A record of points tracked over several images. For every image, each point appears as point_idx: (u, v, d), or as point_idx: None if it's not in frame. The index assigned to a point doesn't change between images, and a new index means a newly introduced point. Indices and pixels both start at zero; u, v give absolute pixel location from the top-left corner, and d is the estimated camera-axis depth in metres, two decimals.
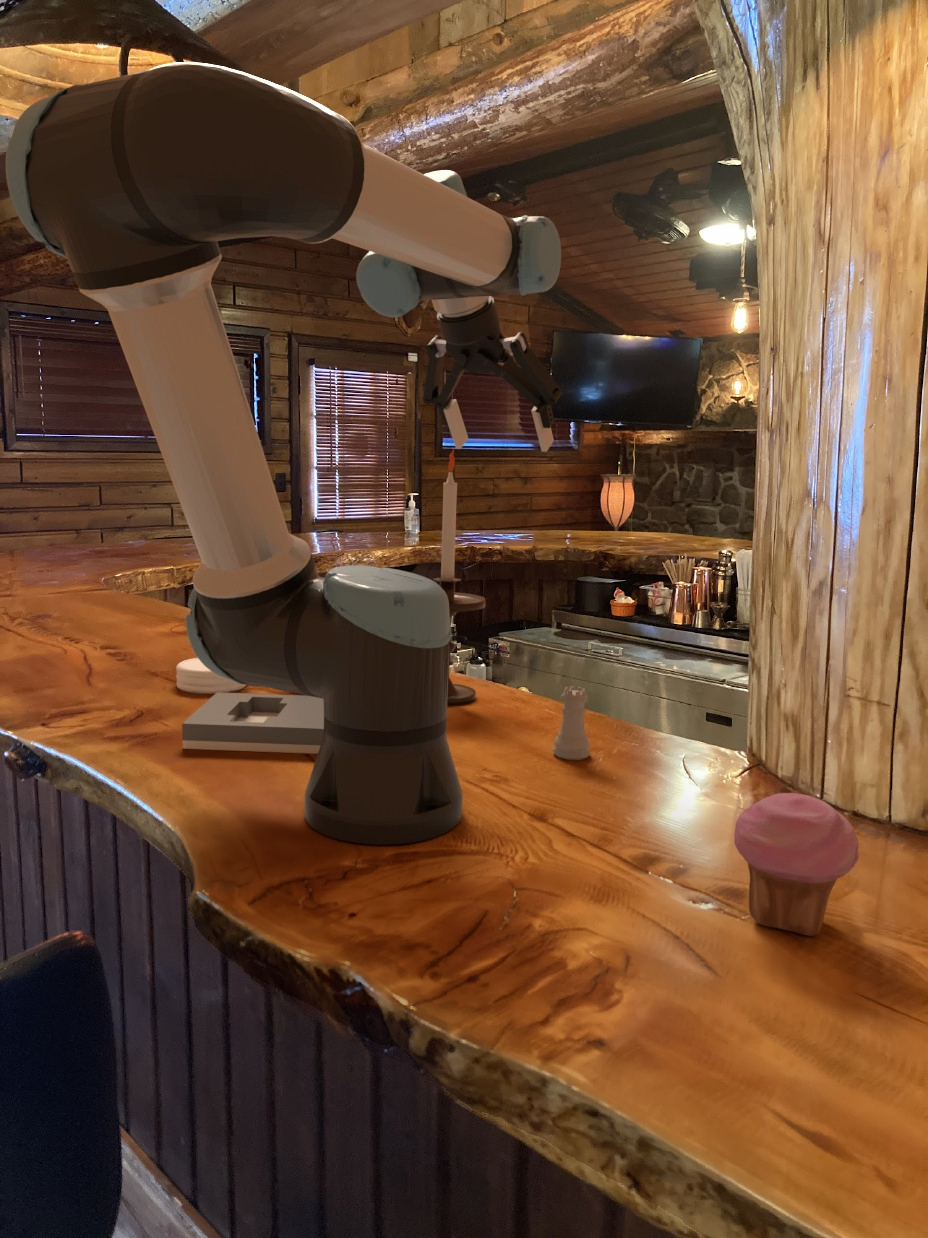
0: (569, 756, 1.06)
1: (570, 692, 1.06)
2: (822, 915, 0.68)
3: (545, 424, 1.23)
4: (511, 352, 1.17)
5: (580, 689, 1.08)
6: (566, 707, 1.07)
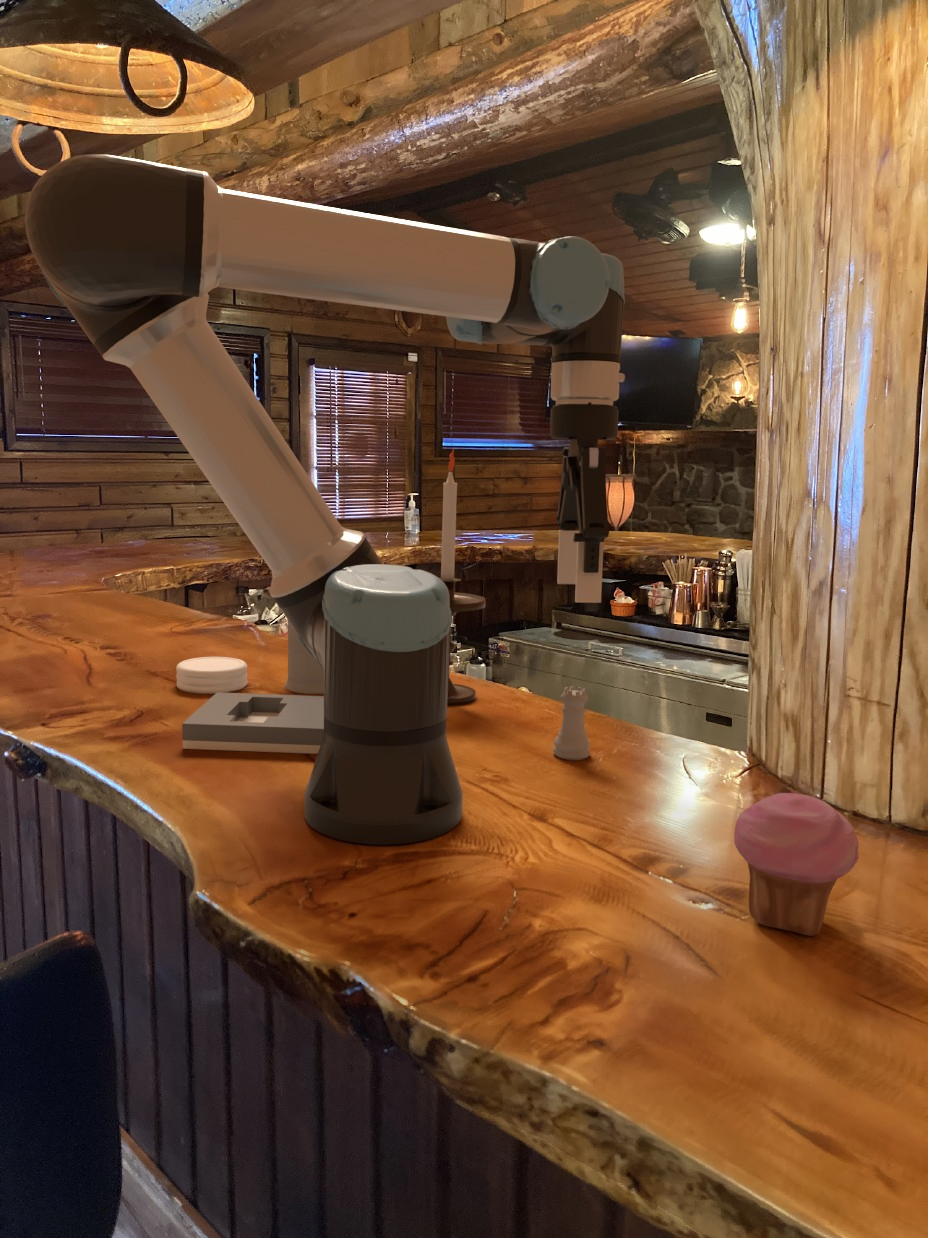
0: (569, 756, 1.06)
1: (570, 692, 1.06)
2: (822, 915, 0.68)
3: (584, 567, 0.98)
4: (580, 461, 0.98)
5: (580, 689, 1.08)
6: (566, 707, 1.07)
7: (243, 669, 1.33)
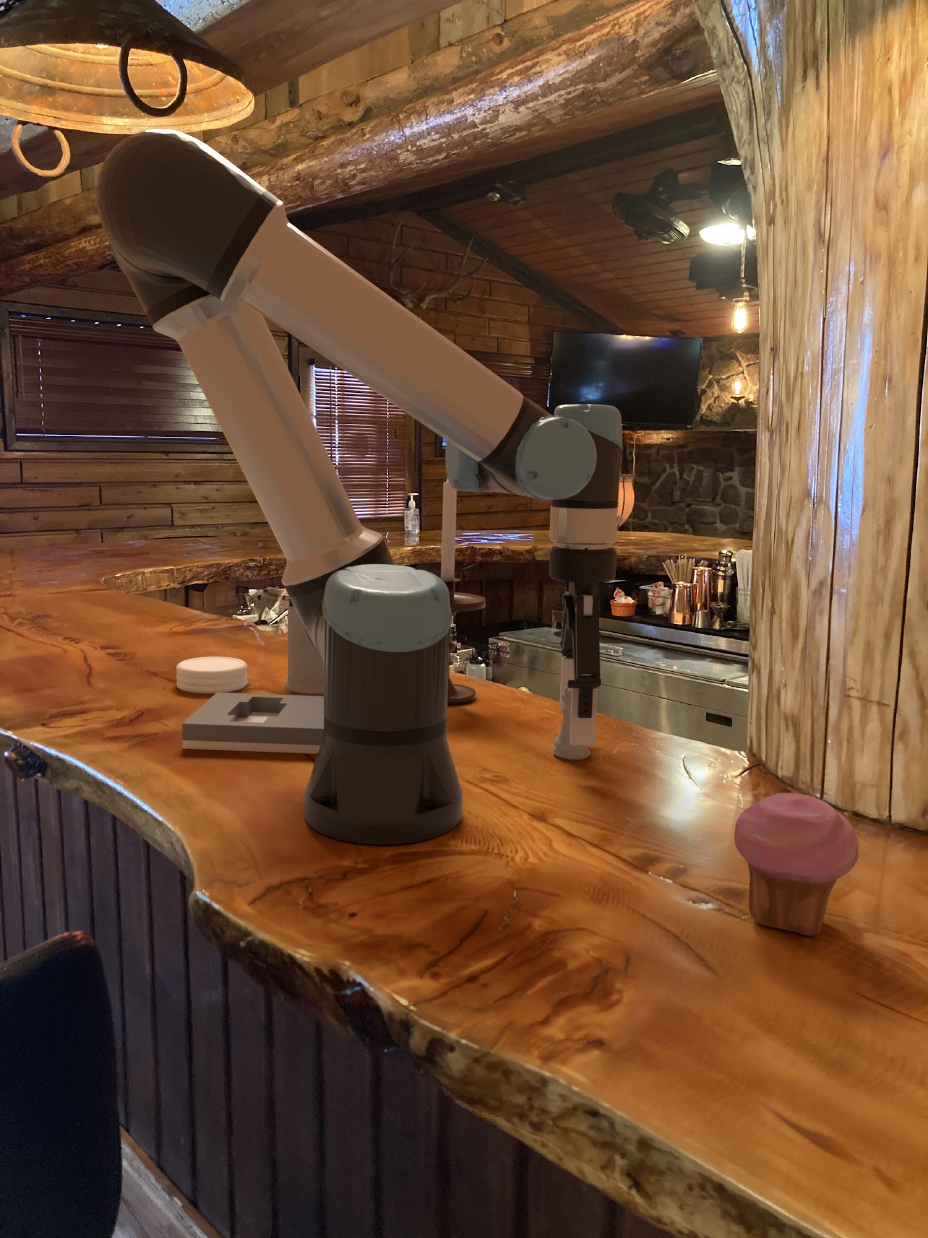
0: (569, 756, 1.06)
1: (570, 692, 1.06)
2: (822, 915, 0.68)
3: (578, 712, 1.00)
4: (575, 608, 1.00)
5: None
6: (566, 707, 1.07)
7: (243, 669, 1.33)
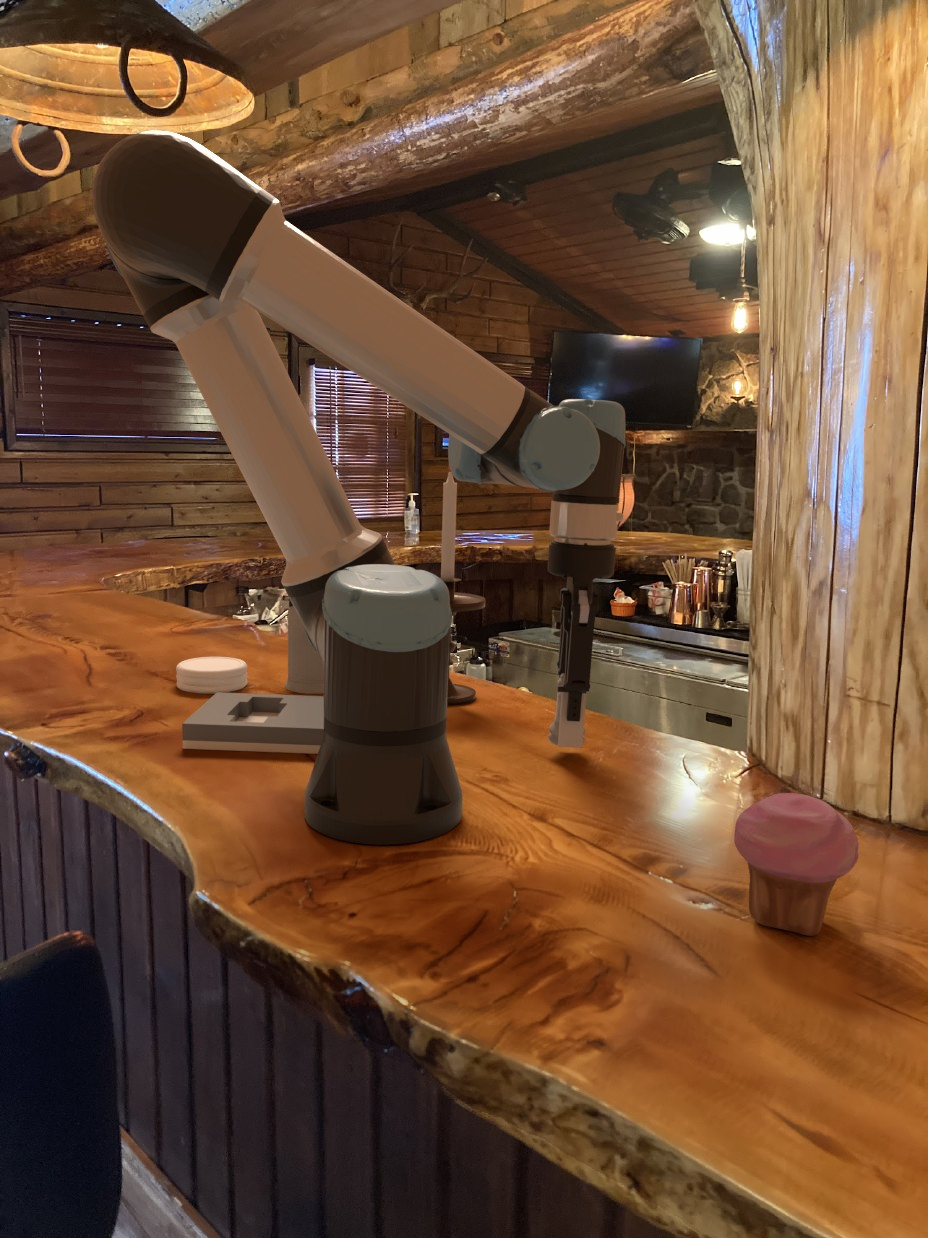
0: None
1: None
2: (822, 915, 0.68)
3: (567, 715, 1.04)
4: (572, 612, 1.00)
5: None
6: None
7: (243, 669, 1.33)
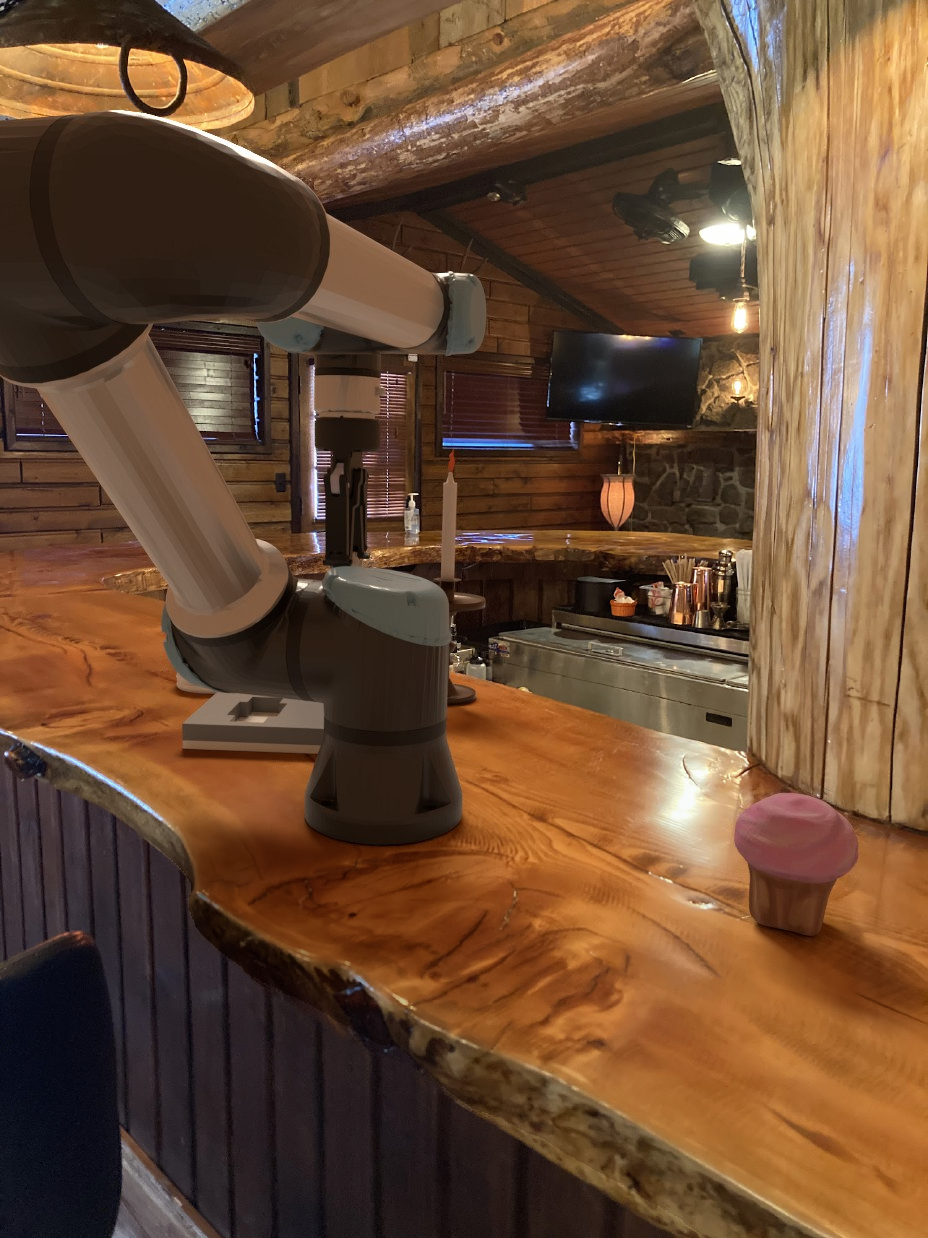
0: None
1: None
2: (822, 915, 0.68)
3: None
4: None
5: (353, 553, 1.09)
6: None
7: None
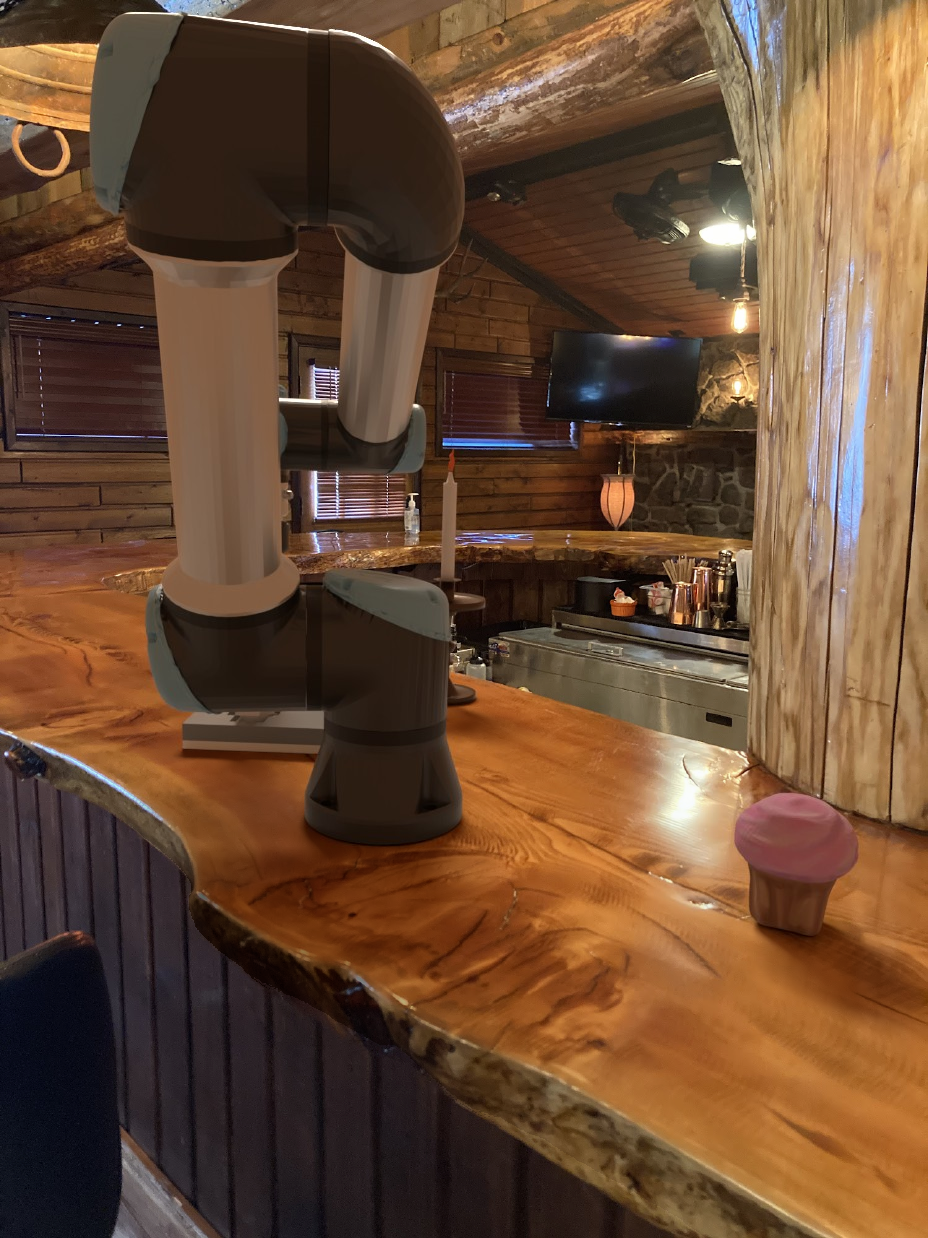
0: None
1: None
2: (822, 915, 0.68)
3: None
4: None
5: None
6: None
7: None
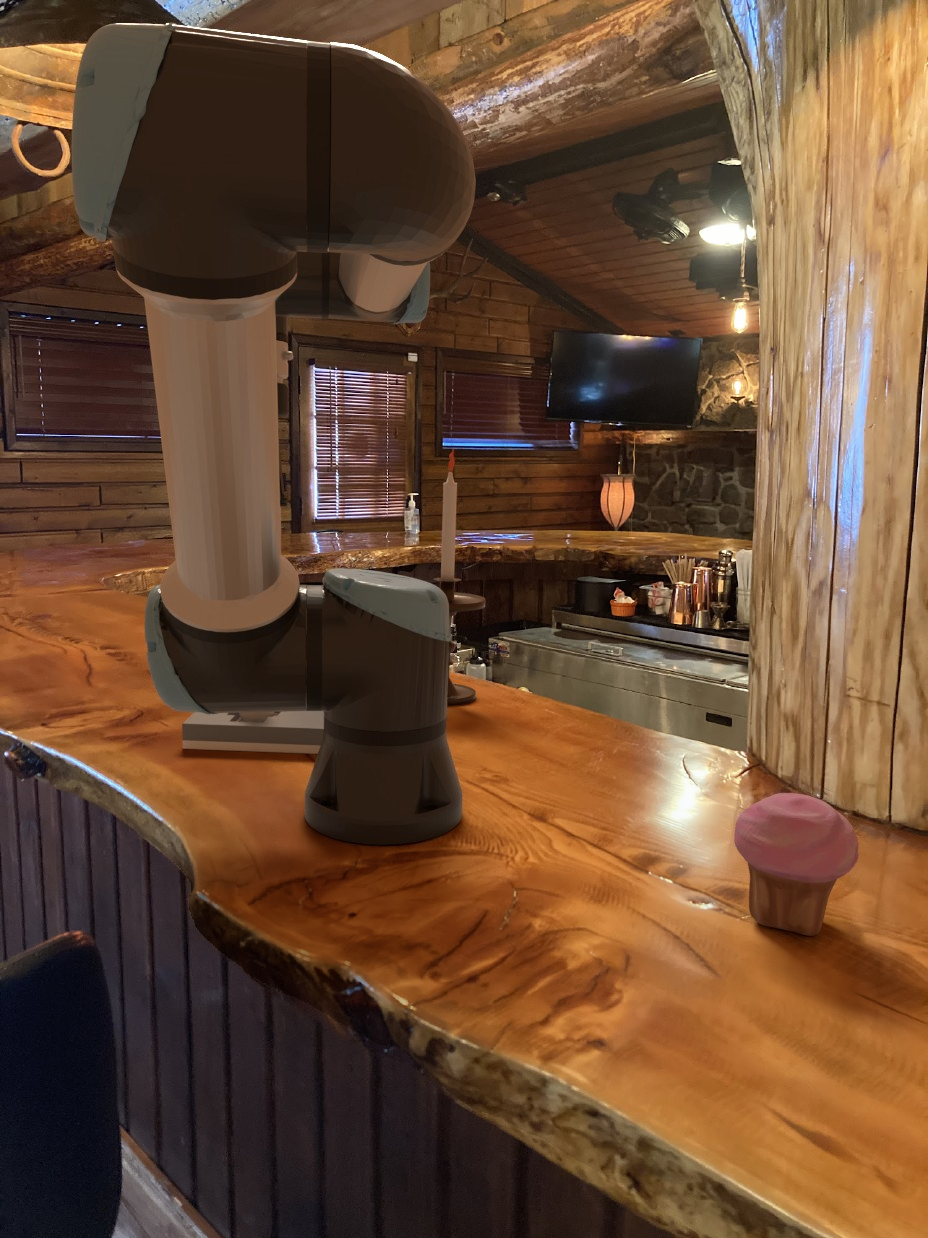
0: None
1: None
2: (822, 915, 0.68)
3: None
4: None
5: None
6: None
7: None
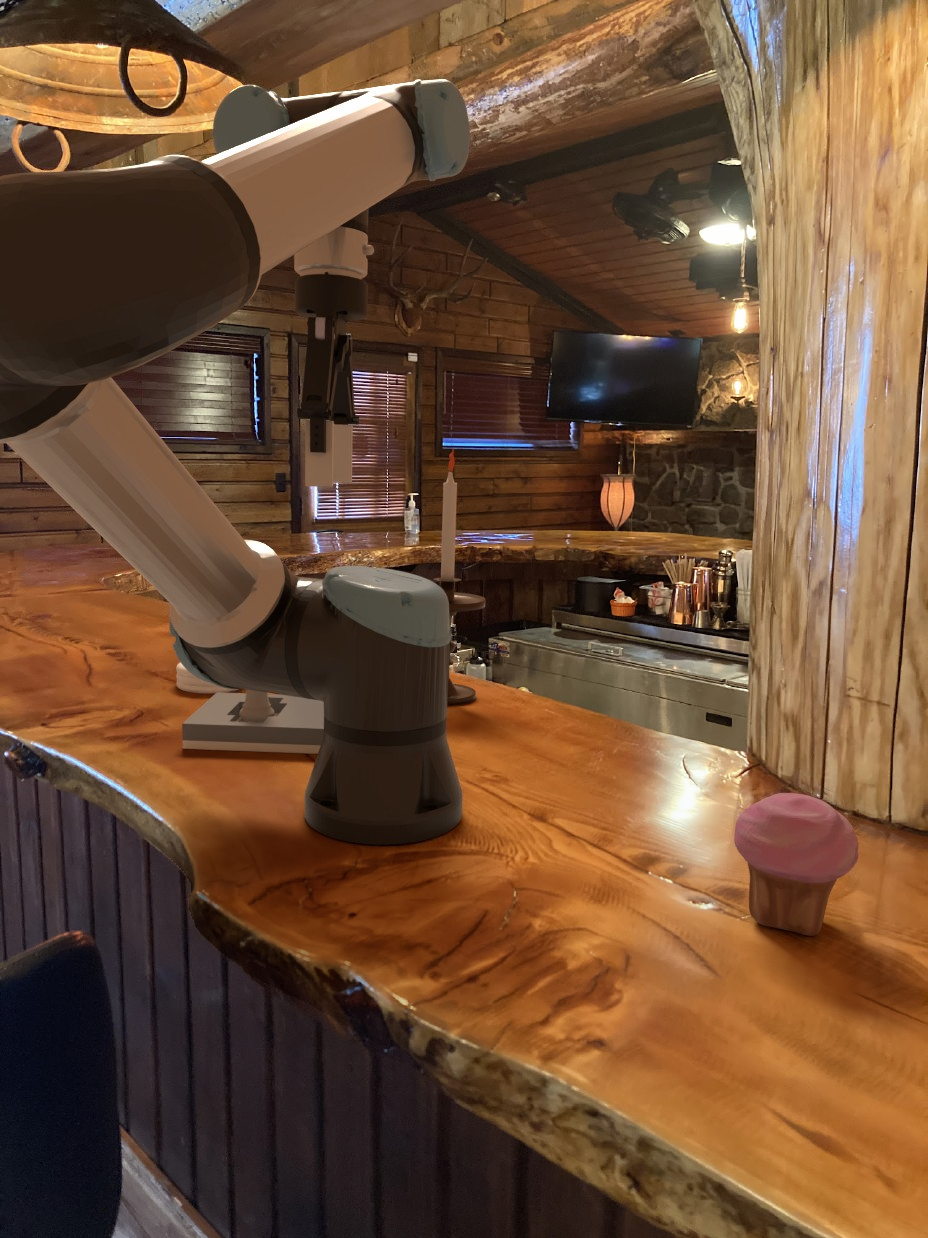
0: None
1: None
2: (822, 915, 0.68)
3: None
4: None
5: None
6: None
7: None
